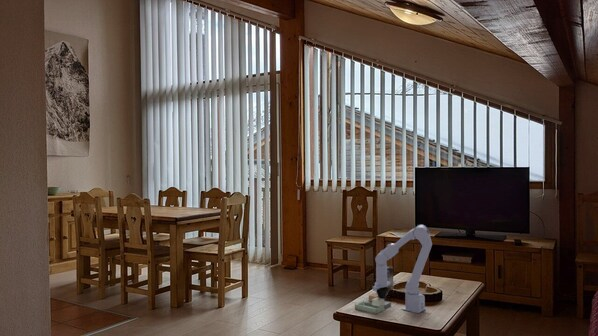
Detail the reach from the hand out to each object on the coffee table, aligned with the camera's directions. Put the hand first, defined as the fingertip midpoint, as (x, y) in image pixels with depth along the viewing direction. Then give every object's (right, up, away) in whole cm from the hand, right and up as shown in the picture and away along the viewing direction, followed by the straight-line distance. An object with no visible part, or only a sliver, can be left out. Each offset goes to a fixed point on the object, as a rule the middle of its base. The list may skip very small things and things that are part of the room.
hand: (381, 301), depth 266 cm
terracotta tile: (-3, -1, +5) cm, 6 cm away
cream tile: (-2, -1, -3) cm, 4 cm away
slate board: (-2, -3, +2) cm, 4 cm away
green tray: (-7, -3, -4) cm, 9 cm away
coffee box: (+5, -2, +22) cm, 23 cm away
